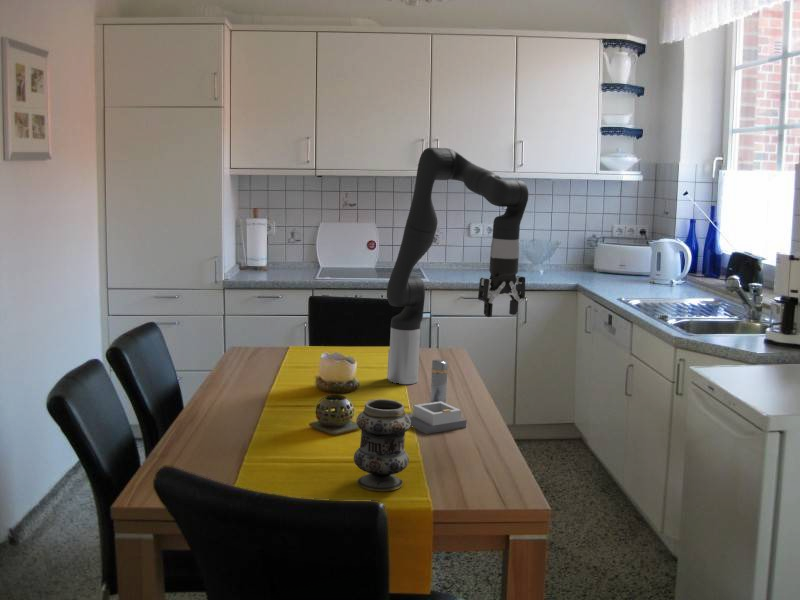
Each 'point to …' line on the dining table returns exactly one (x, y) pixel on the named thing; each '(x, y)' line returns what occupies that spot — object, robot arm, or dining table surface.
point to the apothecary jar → (382, 444)
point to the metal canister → (439, 381)
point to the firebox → (436, 417)
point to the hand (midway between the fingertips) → (500, 315)
